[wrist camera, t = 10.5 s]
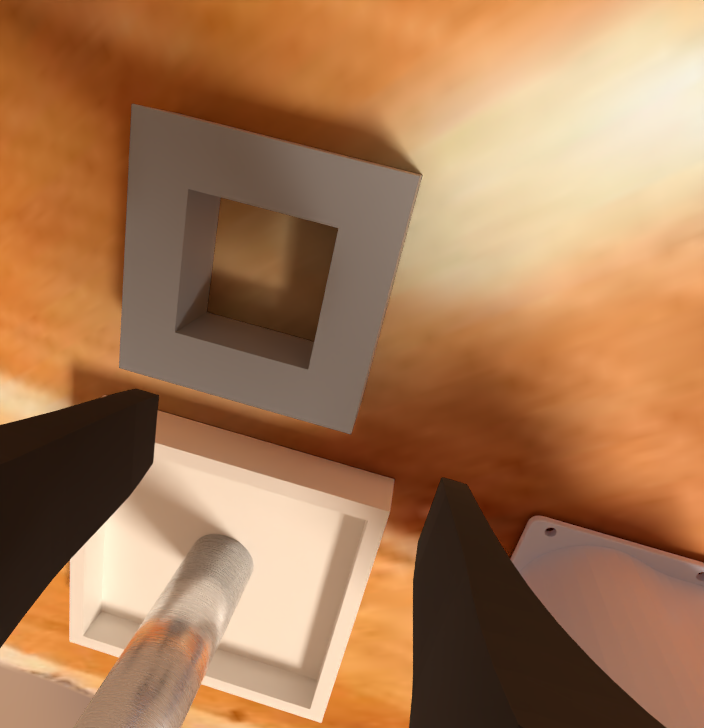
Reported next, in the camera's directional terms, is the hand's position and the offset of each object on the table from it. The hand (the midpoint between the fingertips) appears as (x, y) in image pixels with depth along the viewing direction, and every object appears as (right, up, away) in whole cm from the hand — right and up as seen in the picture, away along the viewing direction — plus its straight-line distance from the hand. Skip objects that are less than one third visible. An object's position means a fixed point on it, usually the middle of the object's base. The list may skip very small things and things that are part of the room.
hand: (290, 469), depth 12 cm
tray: (-5, -8, +15) cm, 18 cm away
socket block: (-2, +7, +9) cm, 11 cm away
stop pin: (-5, -8, +15) cm, 17 cm away
